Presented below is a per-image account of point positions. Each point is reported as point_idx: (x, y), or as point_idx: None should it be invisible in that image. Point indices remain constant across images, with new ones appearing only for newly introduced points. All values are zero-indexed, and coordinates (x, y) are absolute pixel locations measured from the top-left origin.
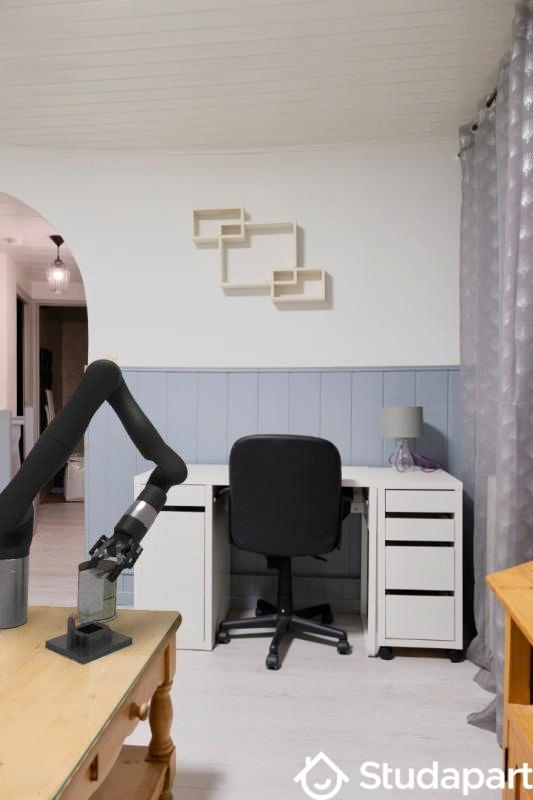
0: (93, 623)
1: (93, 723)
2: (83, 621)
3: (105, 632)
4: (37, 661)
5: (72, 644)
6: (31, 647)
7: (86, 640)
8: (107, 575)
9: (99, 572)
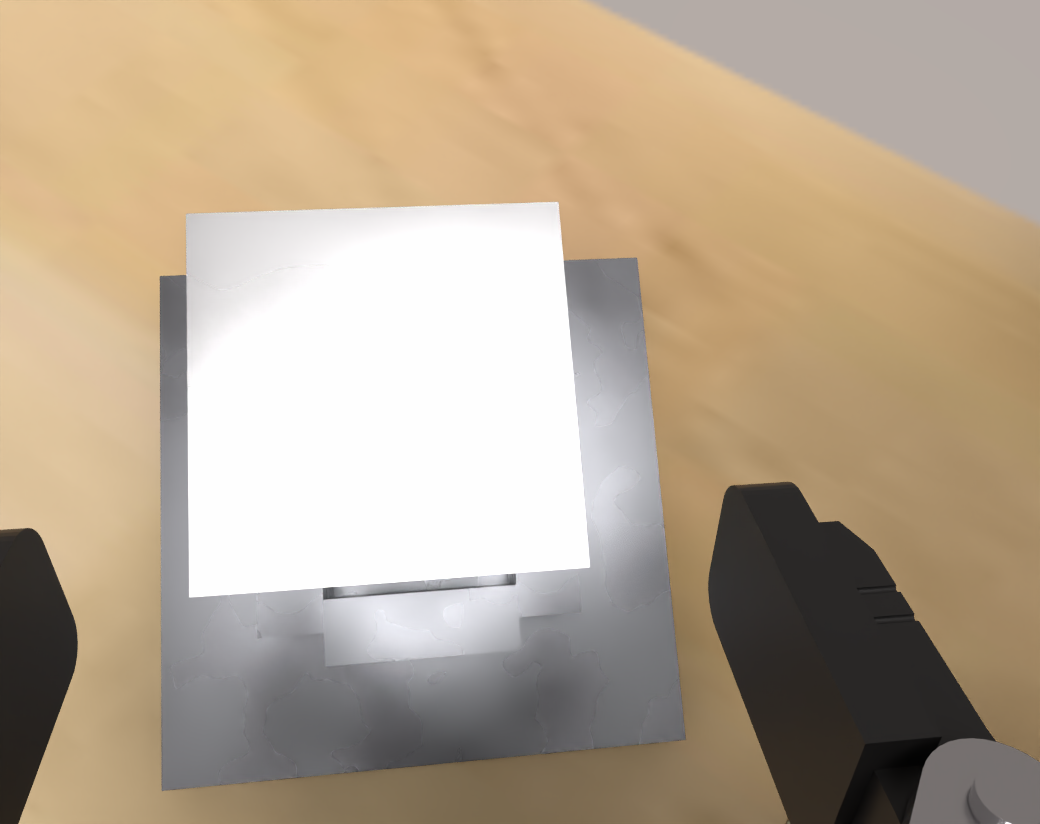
0: (505, 596)
1: None
2: None
3: None
4: (458, 126)
5: None
6: (697, 216)
7: None
8: (3, 553)
9: (193, 465)
